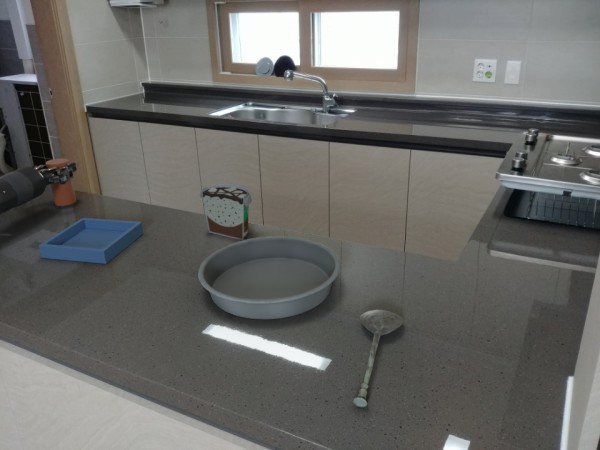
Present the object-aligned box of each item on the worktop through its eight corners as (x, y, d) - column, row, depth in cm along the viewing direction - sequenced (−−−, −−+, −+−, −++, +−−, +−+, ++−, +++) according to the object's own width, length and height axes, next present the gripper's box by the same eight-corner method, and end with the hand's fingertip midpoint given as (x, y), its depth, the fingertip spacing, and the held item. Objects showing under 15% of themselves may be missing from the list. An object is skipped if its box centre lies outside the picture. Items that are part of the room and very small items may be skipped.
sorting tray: (41, 257, 109) (38, 245, 108) (85, 228, 122) (82, 217, 121) (106, 264, 105) (103, 251, 104) (143, 233, 118) (141, 221, 117)
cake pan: (287, 244, 111) (286, 224, 109) (369, 291, 92) (370, 268, 91) (177, 282, 98) (174, 260, 96) (247, 345, 79) (245, 319, 77)
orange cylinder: (50, 205, 137) (41, 163, 132) (63, 198, 141) (54, 157, 137) (68, 206, 136) (59, 164, 131) (80, 199, 140) (72, 158, 136)
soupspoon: (405, 320, 85) (364, 317, 87) (405, 301, 84) (364, 298, 86) (385, 413, 65) (333, 405, 67) (385, 390, 64) (331, 383, 66)
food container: (265, 231, 117) (262, 187, 114) (249, 241, 113) (245, 197, 109) (221, 221, 123) (216, 180, 119) (203, 231, 119) (198, 188, 115)
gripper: (41, 173, 119) (86, 152, 134) (-13, 170, 122) (37, 150, 138) (48, 204, 122) (92, 181, 137) (-4, 201, 125) (44, 178, 140)
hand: (64, 165), depth 137 cm, fingers closed on orange cylinder, 5 cm apart
